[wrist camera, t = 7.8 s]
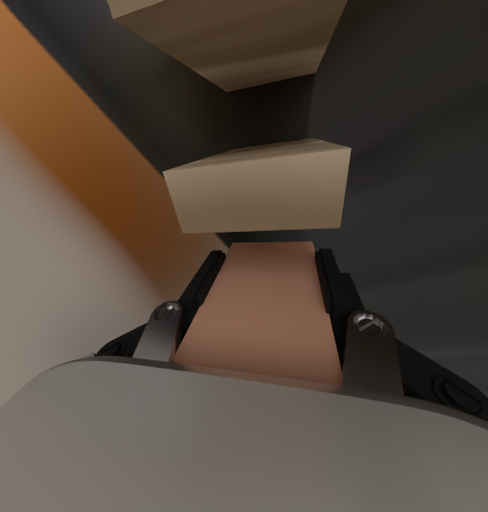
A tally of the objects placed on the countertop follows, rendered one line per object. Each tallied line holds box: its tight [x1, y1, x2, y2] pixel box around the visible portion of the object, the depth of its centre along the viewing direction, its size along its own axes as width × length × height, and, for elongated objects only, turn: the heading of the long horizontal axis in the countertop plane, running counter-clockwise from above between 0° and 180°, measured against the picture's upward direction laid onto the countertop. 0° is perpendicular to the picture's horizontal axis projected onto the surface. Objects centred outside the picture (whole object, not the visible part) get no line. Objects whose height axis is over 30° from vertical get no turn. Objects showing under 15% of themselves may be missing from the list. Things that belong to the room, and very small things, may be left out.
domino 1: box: [107, 0, 348, 92], centre depth 7 cm, size 2×5×9 cm, turn 98°
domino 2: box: [163, 138, 351, 234], centre depth 9 cm, size 2×5×9 cm, turn 98°
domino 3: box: [173, 241, 342, 385], centre depth 9 cm, size 2×5×9 cm, turn 97°
